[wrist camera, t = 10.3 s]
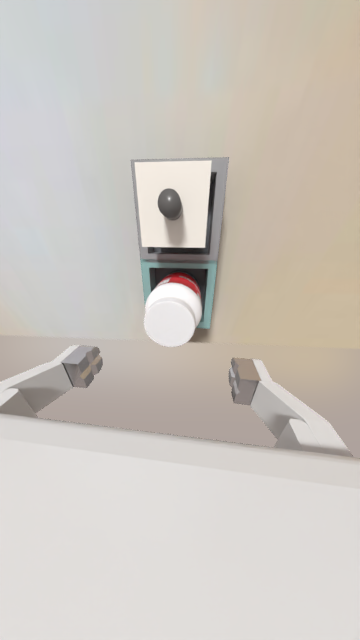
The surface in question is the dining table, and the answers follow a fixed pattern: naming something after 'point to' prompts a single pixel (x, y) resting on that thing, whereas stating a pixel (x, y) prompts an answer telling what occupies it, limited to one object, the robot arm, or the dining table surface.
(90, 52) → the dining table surface
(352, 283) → the dining table surface
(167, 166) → the teal tray with block
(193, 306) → the pill bottle
